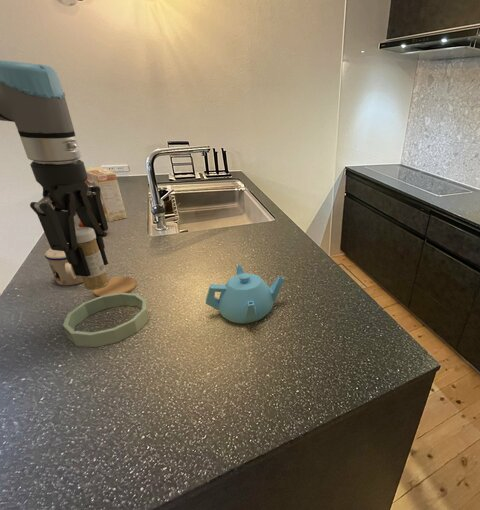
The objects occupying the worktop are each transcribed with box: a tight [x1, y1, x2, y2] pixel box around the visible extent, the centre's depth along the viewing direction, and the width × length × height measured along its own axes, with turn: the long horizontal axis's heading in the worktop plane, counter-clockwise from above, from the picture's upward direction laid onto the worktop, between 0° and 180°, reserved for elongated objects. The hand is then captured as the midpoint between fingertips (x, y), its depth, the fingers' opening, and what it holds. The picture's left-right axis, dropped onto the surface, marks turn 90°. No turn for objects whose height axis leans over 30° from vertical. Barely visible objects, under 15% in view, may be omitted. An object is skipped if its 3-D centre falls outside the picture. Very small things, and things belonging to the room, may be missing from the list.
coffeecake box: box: [85, 166, 128, 223], centre depth 128 cm, size 15×7×20 cm, turn 55°
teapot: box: [205, 264, 285, 325], centre depth 80 cm, size 15×15×11 cm
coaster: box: [92, 276, 137, 298], centre depth 86 cm, size 10×10×1 cm
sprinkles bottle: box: [75, 226, 110, 291], centre depth 66 cm, size 5×5×14 cm
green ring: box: [62, 292, 150, 348], centre depth 73 cm, size 16×16×4 cm
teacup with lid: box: [44, 243, 84, 286], centre depth 85 cm, size 12×9×12 cm
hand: (92, 269), depth 67 cm, fingers closed on sprinkles bottle, 4 cm apart
